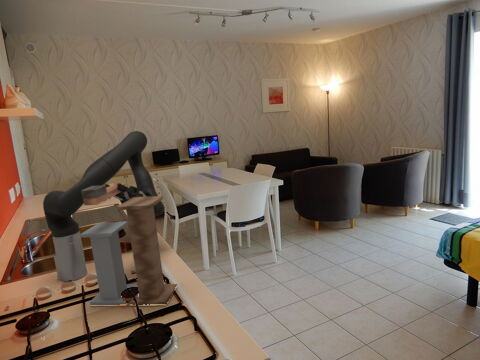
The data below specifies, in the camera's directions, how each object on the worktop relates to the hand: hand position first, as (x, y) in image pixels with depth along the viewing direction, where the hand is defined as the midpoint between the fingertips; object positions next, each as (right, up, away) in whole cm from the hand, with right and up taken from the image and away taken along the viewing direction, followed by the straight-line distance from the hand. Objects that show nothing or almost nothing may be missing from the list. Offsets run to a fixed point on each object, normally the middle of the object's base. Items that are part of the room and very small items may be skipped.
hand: (111, 186), depth 115 cm
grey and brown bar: (0, -3, -3) cm, 5 cm away
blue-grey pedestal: (+2, -36, -1) cm, 36 cm away
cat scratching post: (+15, -36, -3) cm, 39 cm away
